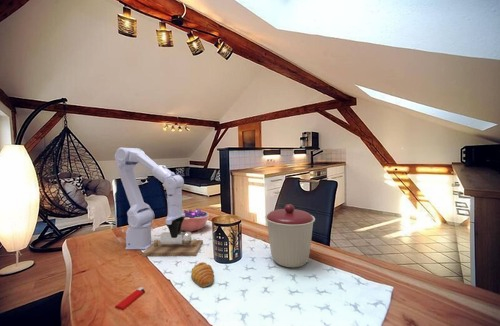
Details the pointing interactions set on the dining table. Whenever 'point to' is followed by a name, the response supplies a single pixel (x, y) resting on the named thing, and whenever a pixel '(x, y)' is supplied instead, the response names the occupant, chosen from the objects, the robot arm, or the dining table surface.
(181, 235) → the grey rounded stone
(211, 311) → the dining table surface
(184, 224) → the cell model
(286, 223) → the canister
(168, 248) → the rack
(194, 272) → the pastry
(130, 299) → the lighter
